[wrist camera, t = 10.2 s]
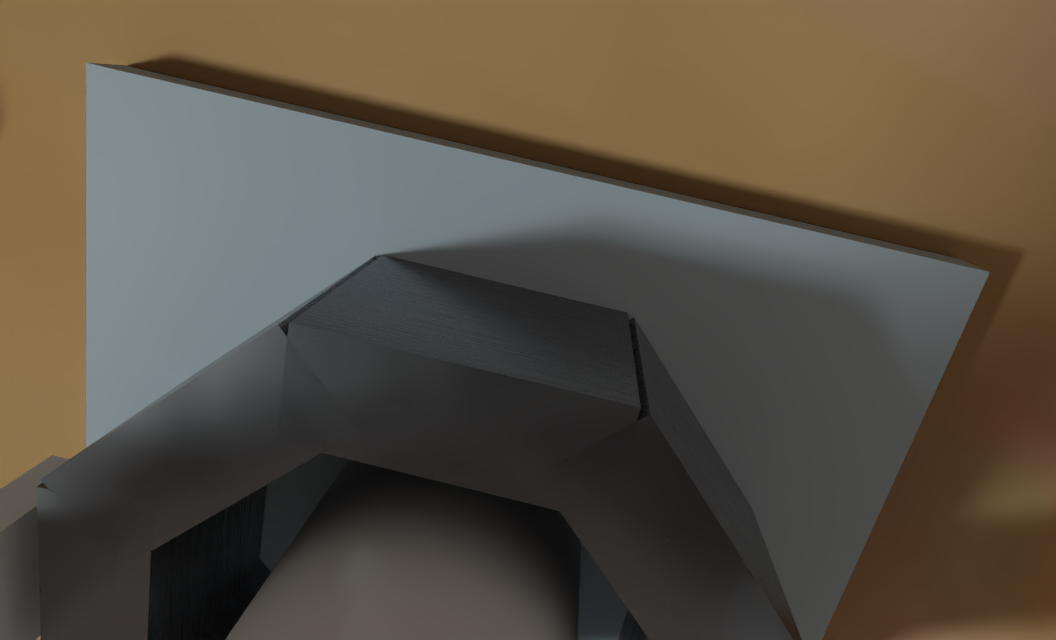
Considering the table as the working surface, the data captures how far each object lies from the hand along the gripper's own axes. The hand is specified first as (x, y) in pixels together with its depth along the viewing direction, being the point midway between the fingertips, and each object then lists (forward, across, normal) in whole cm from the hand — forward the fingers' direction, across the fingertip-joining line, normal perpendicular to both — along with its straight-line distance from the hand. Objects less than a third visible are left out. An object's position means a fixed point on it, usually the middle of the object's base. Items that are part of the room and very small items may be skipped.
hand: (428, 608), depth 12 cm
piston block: (+3, 0, 0) cm, 3 cm away
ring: (+2, 0, 0) cm, 2 cm away
